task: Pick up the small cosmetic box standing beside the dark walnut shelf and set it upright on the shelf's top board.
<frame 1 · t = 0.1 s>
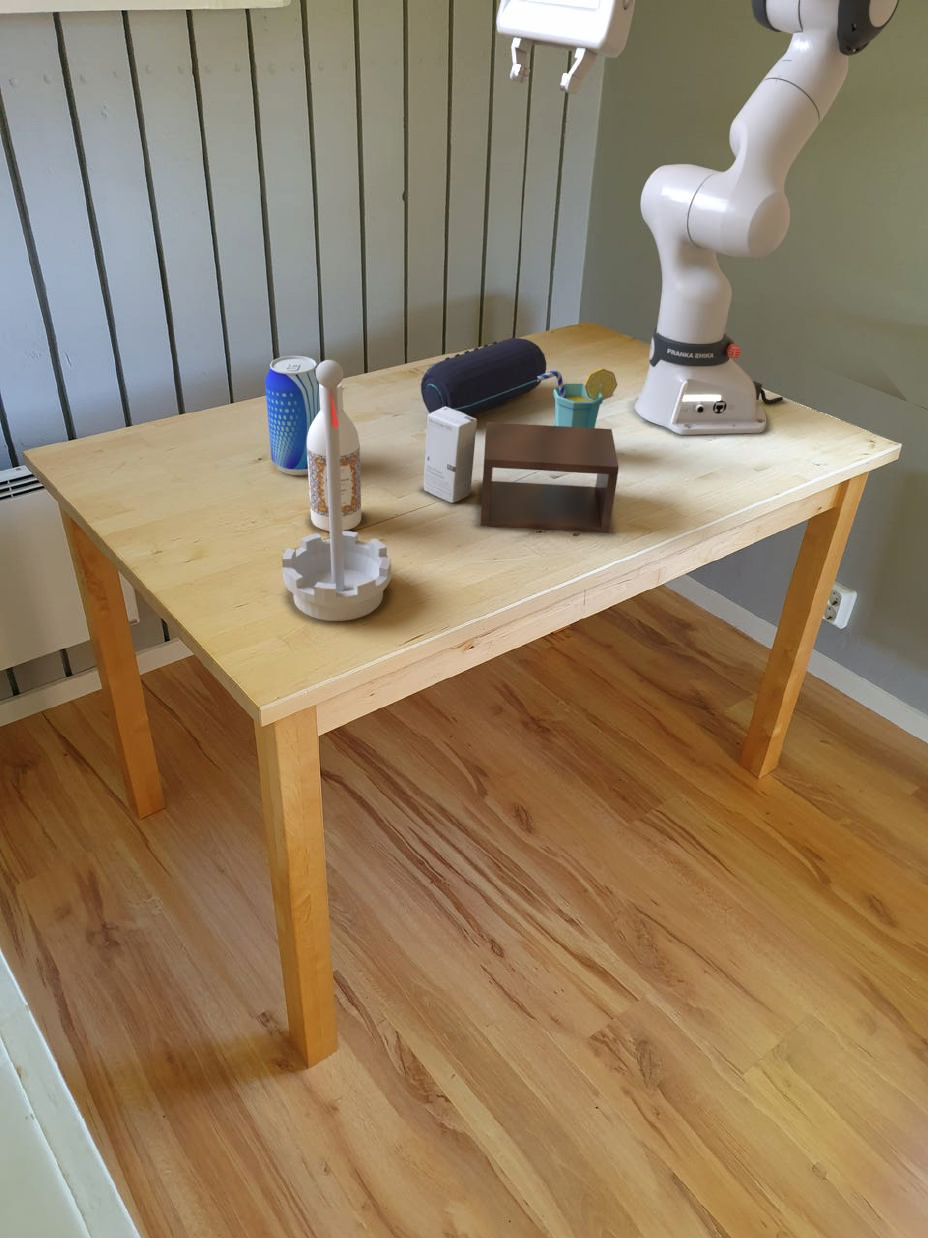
hand: (541, 86, 119), 52 cm above the table, tool tilted 20°, fingers open, 8 cm apart
flag stand: (338, 596, 119), on the table
cup: (566, 458, 153), on the table
portable speaker: (481, 407, 167), on the table
shelf: (543, 508, 139), on the table
bath foam: (336, 521, 134), on the table
cosmetic box: (448, 493, 142), on the table
beer can: (300, 466, 147), on the table
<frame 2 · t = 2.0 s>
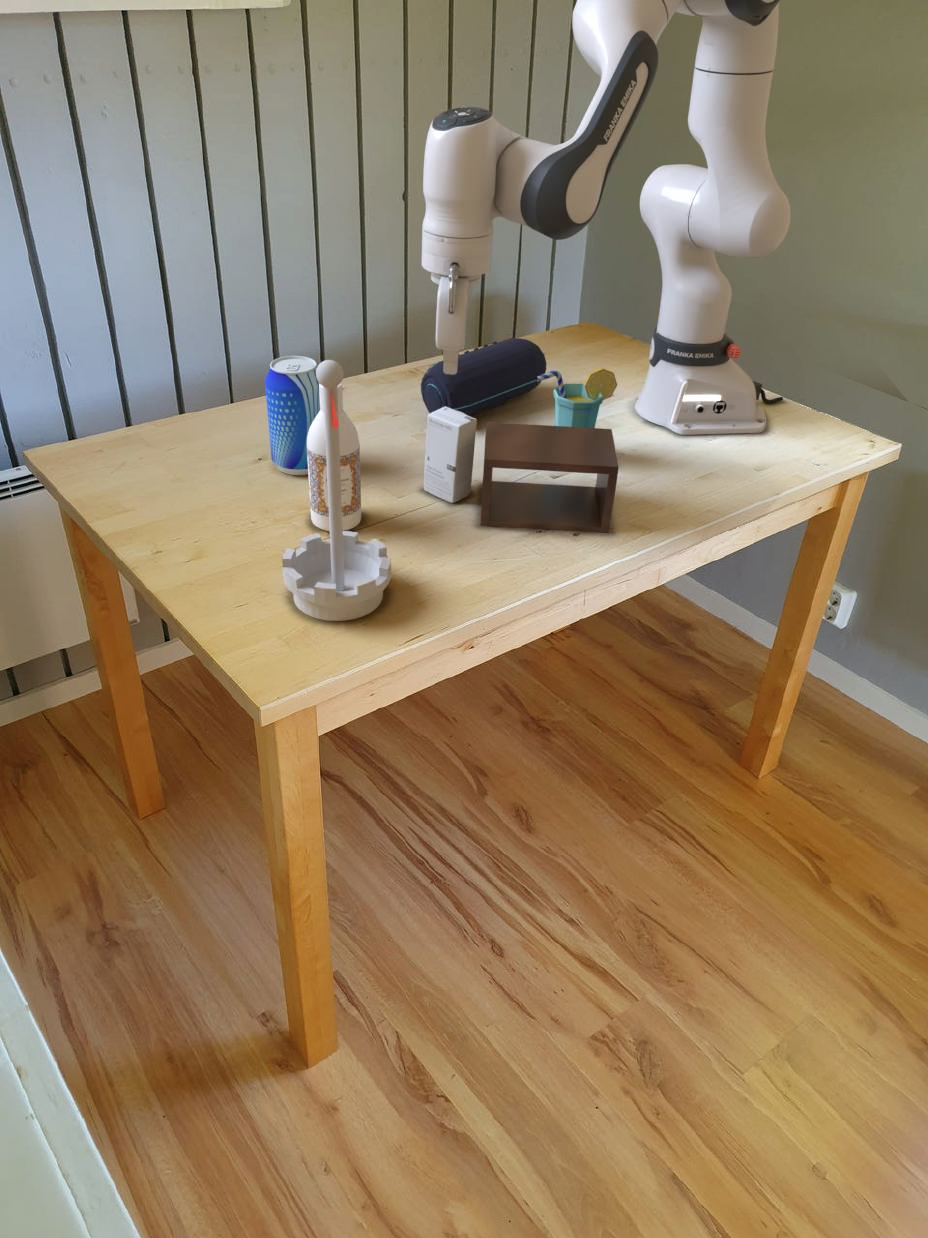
hand: (452, 359, 129), 20 cm above the table, tool pointing down, fingers open, 8 cm apart
nothing on the table moved.
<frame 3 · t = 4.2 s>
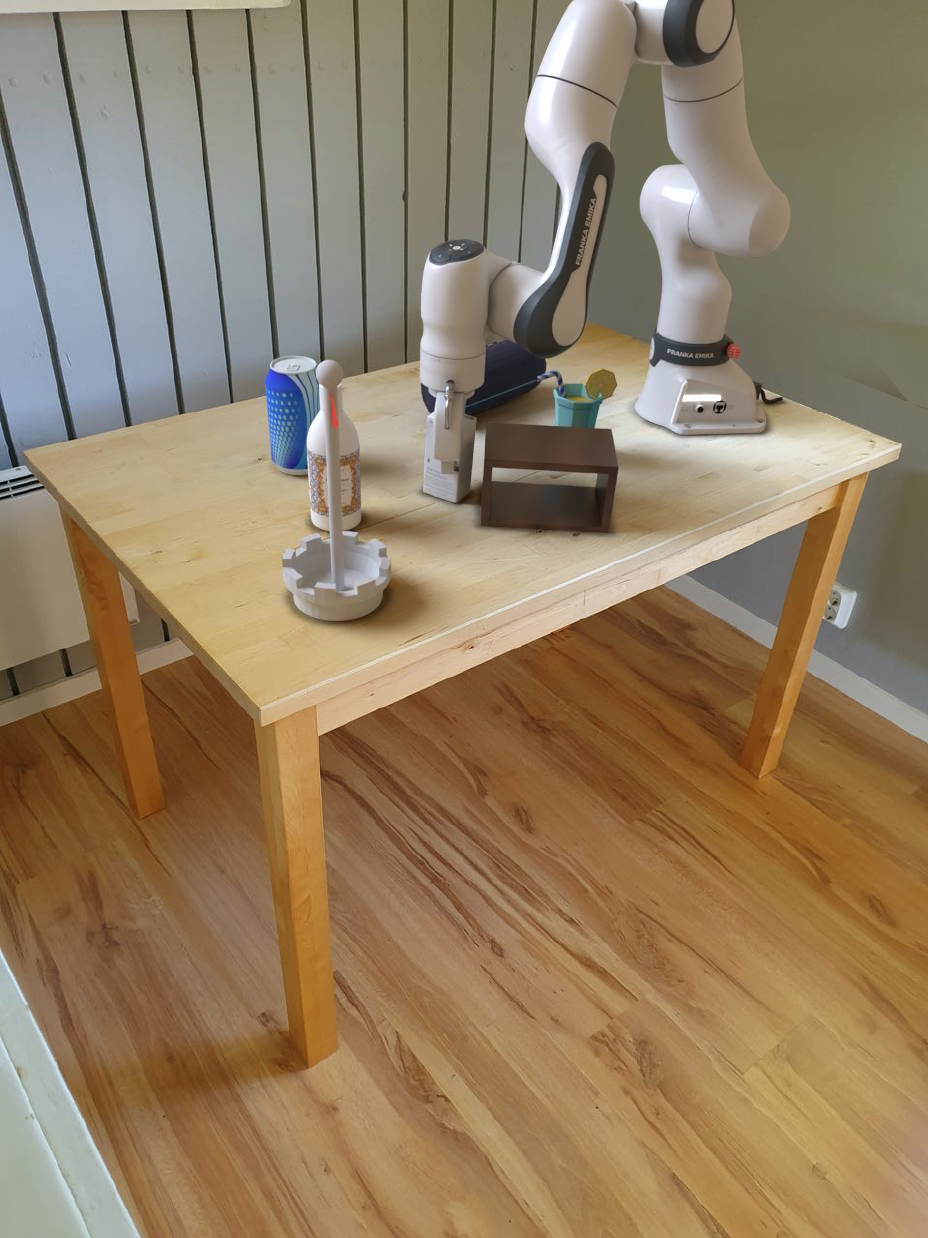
hand: (448, 460, 138), 5 cm above the table, tool pointing down, fingers closed on cosmetic box, 5 cm apart
cosmetic box: (447, 493, 142), on the table, touching gripper
everything else where it was.
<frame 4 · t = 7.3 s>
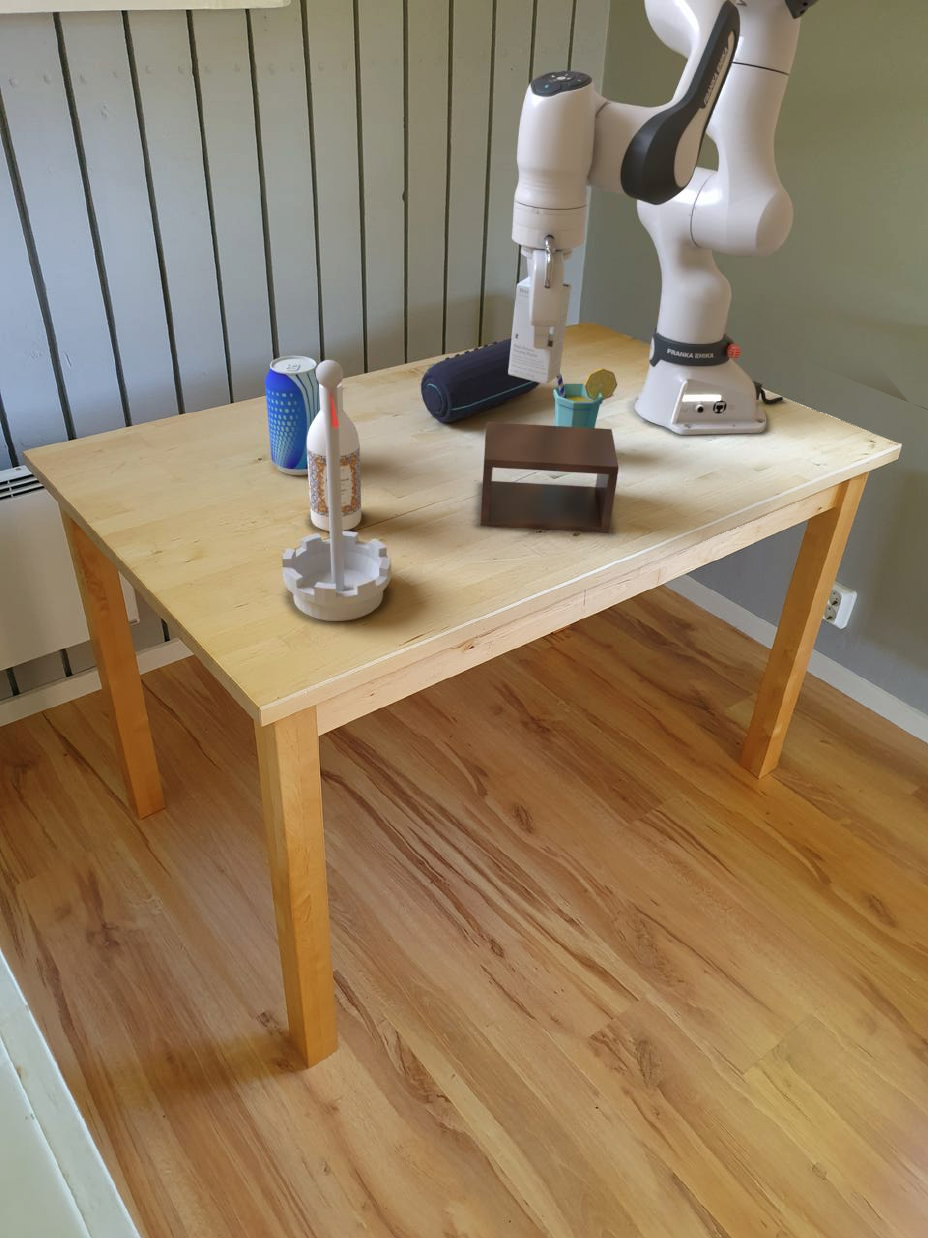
hand: (539, 337, 125), 25 cm above the table, tool pointing down, fingers closed on cosmetic box, 5 cm apart
cosmetic box: (534, 376, 128), point 19 cm above the table, touching gripper
everything else where it was.
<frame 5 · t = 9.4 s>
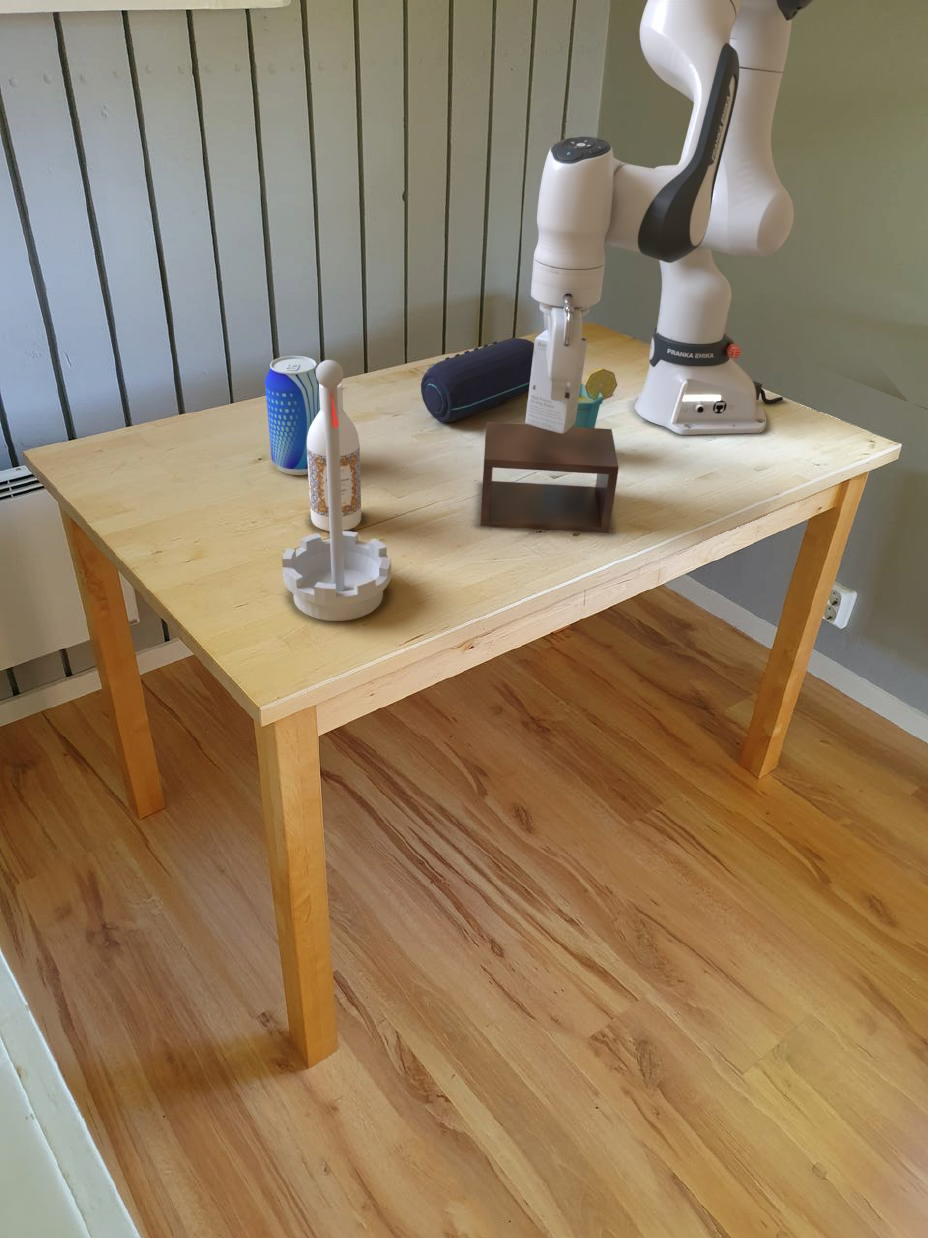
hand: (556, 388, 128), 18 cm above the table, tool pointing down, fingers closed on cosmetic box, 5 cm apart
cosmetic box: (551, 425, 131), point 13 cm above the table, touching gripper
everything else where it was.
when the fingers open (15 cm above the table, at t = 10.8 s): cosmetic box stays where it is, resting on shelf.
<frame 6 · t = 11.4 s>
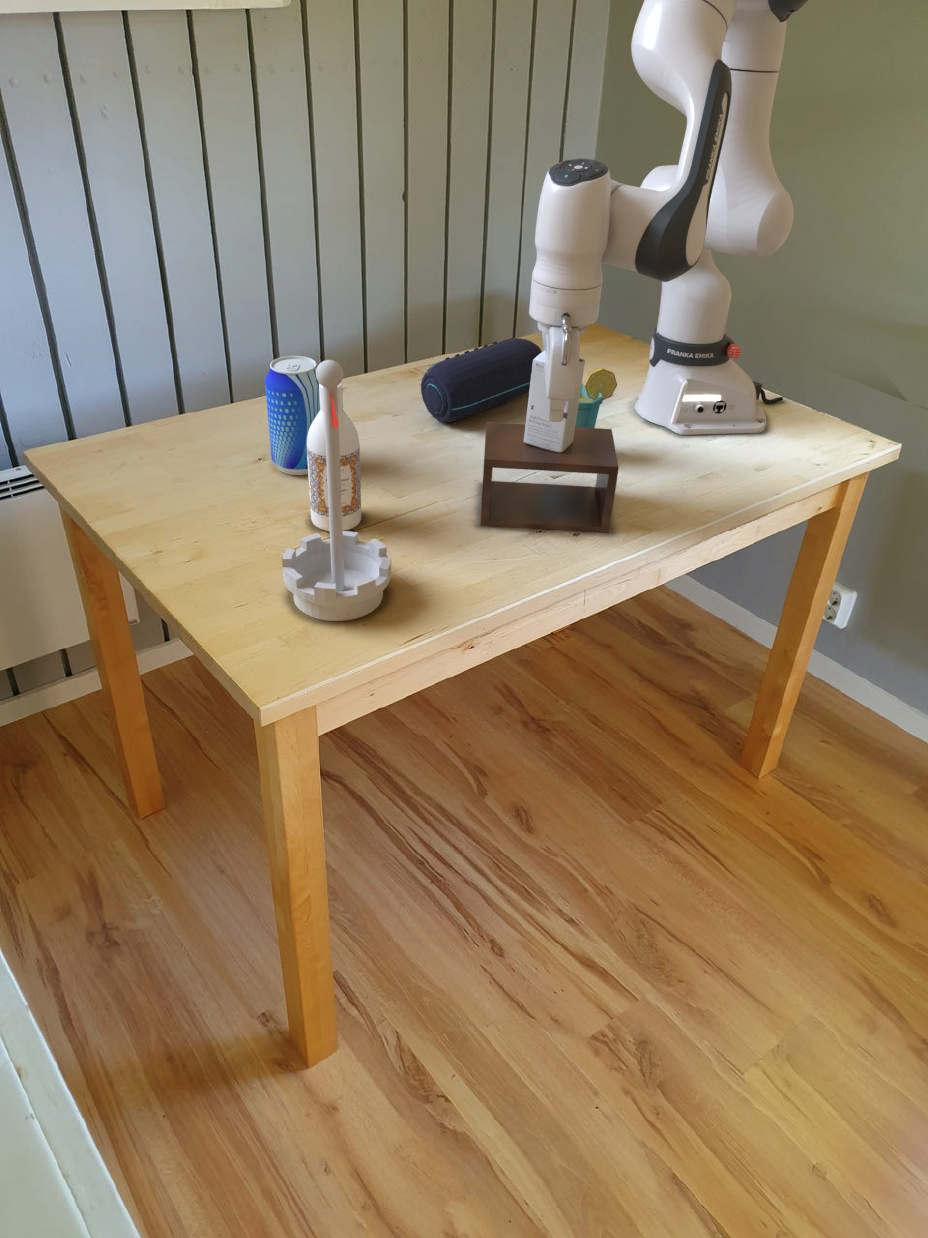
hand: (554, 405, 130), 16 cm above the table, tool pointing down, fingers open, 8 cm apart
cosmetic box: (549, 444, 133), point 10 cm above the table, touching shelf
everything else where it was.
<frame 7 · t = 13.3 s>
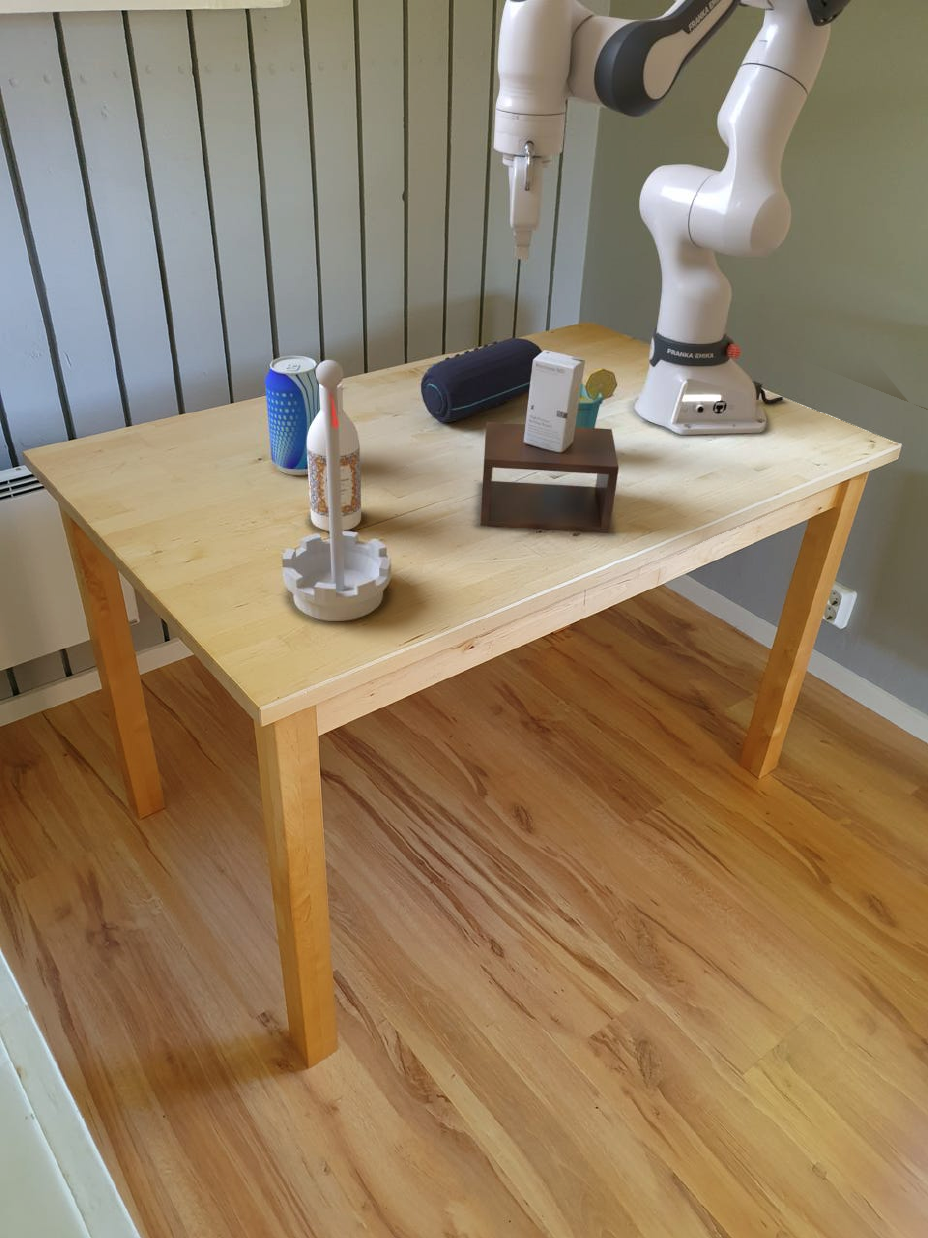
hand: (521, 248, 130), 33 cm above the table, tool pointing down, fingers open, 8 cm apart
nothing on the table moved.
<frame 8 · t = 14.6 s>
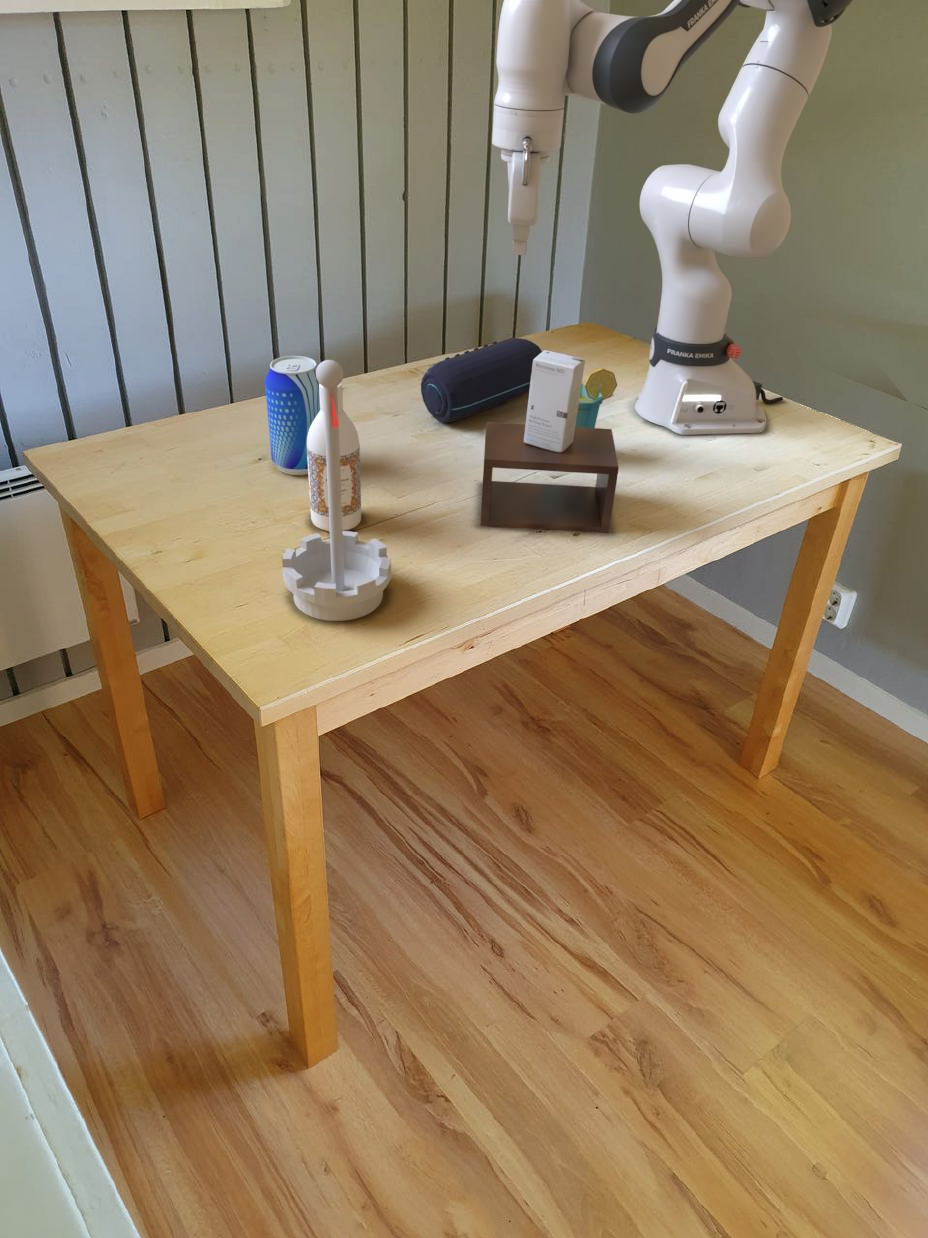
hand: (519, 244, 130), 33 cm above the table, tool pointing down, fingers open, 8 cm apart
nothing on the table moved.
at the end: cosmetic box inside the target area on the shelf (0.1 cm from its centre), point 10.0 cm above the shelf's base; cosmetic box tilted 0°; the gripper is holding nothing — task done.
